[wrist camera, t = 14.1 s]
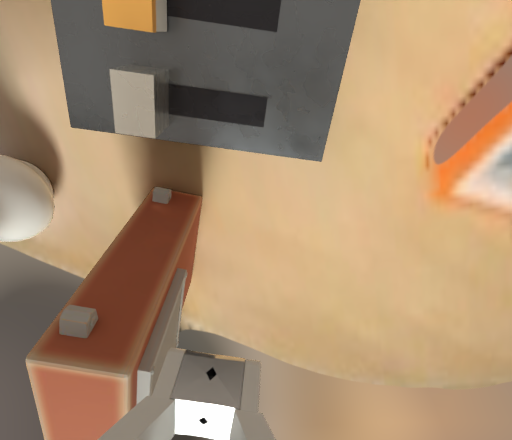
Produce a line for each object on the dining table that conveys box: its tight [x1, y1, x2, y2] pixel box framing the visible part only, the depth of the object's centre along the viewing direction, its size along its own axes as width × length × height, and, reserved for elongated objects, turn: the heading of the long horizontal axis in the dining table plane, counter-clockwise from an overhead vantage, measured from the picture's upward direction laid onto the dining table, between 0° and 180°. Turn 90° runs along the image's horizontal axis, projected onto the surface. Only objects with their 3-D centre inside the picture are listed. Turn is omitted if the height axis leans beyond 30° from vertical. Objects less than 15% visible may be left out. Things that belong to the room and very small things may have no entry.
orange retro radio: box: [26, 187, 202, 440], centre depth 29 cm, size 21×7×15 cm
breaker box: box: [51, 0, 360, 162], centre depth 25 cm, size 22×14×8 cm, turn 83°
